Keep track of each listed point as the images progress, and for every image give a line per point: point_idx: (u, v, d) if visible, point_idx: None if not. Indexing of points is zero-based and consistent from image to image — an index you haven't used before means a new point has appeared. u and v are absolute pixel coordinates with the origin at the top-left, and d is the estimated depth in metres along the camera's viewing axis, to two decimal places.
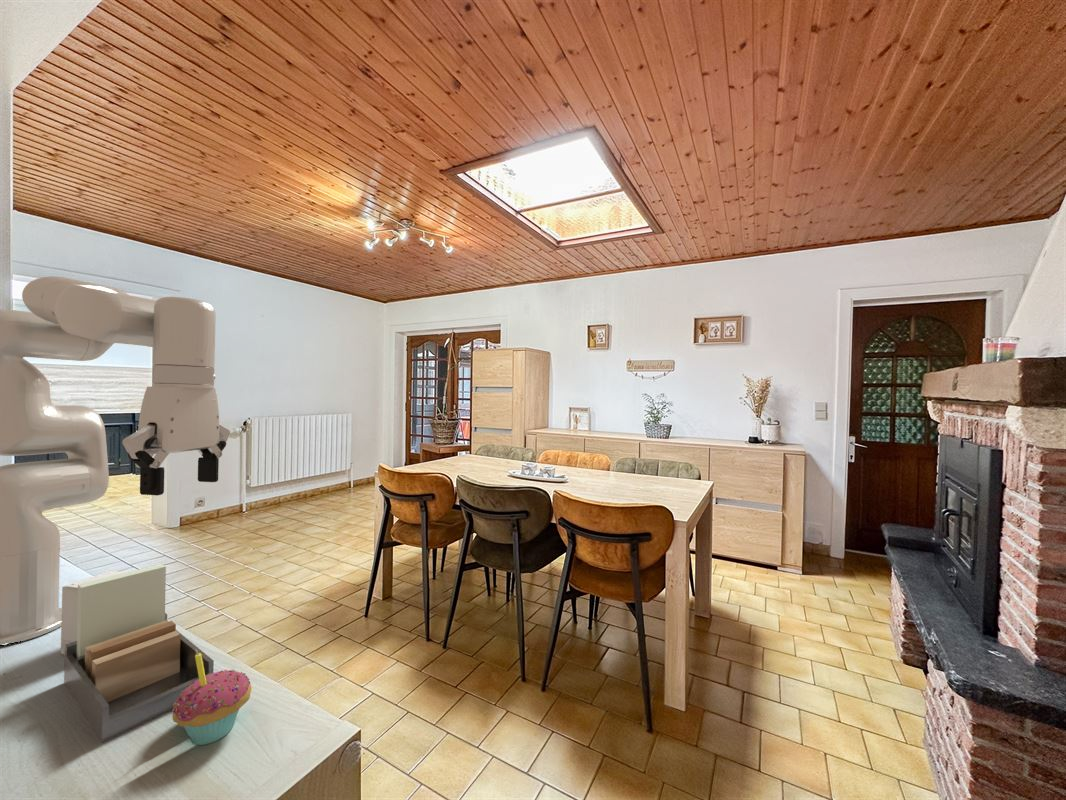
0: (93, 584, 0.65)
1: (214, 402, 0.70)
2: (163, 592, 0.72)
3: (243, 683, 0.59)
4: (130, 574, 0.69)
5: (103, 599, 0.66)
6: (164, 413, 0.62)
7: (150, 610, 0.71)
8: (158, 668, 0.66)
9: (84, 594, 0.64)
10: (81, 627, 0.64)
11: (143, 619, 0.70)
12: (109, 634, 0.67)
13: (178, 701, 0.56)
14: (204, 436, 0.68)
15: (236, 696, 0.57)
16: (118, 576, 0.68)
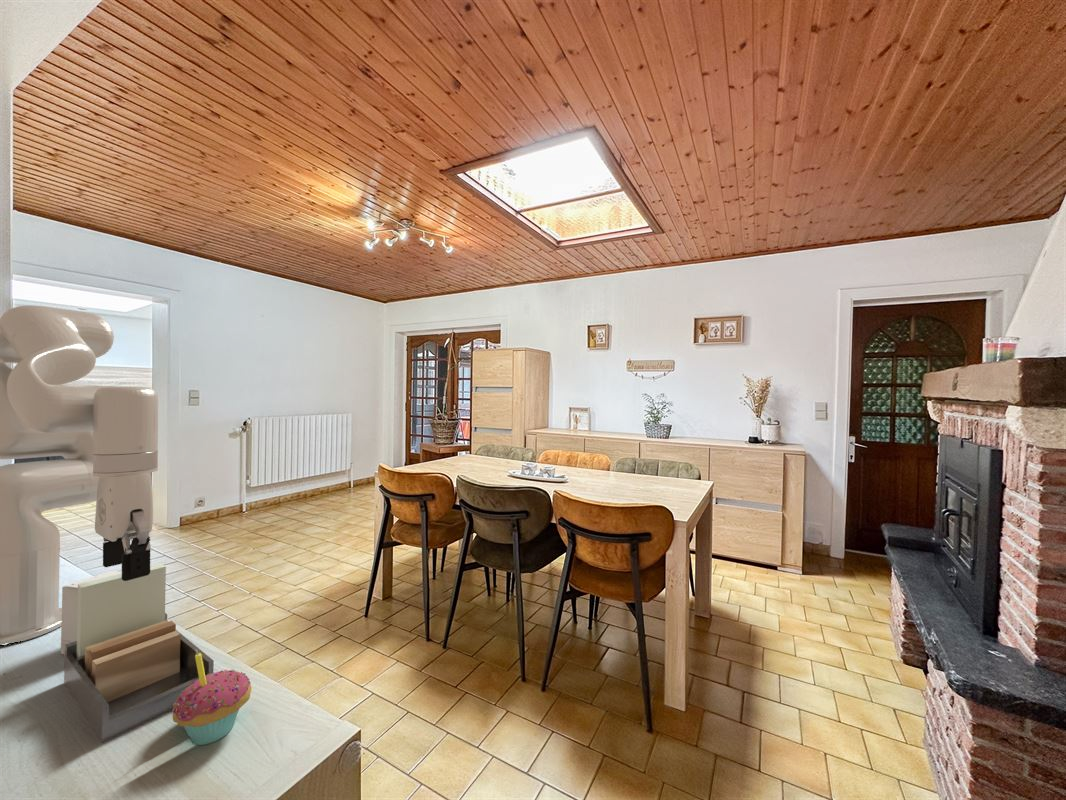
0: (93, 584, 0.65)
1: None
2: (163, 592, 0.72)
3: (243, 683, 0.59)
4: None
5: (103, 599, 0.66)
6: (149, 498, 0.67)
7: (150, 610, 0.71)
8: (158, 668, 0.66)
9: (84, 594, 0.64)
10: (81, 627, 0.64)
11: (143, 619, 0.70)
12: (109, 634, 0.67)
13: (178, 701, 0.56)
14: None
15: (236, 696, 0.57)
16: (118, 576, 0.68)
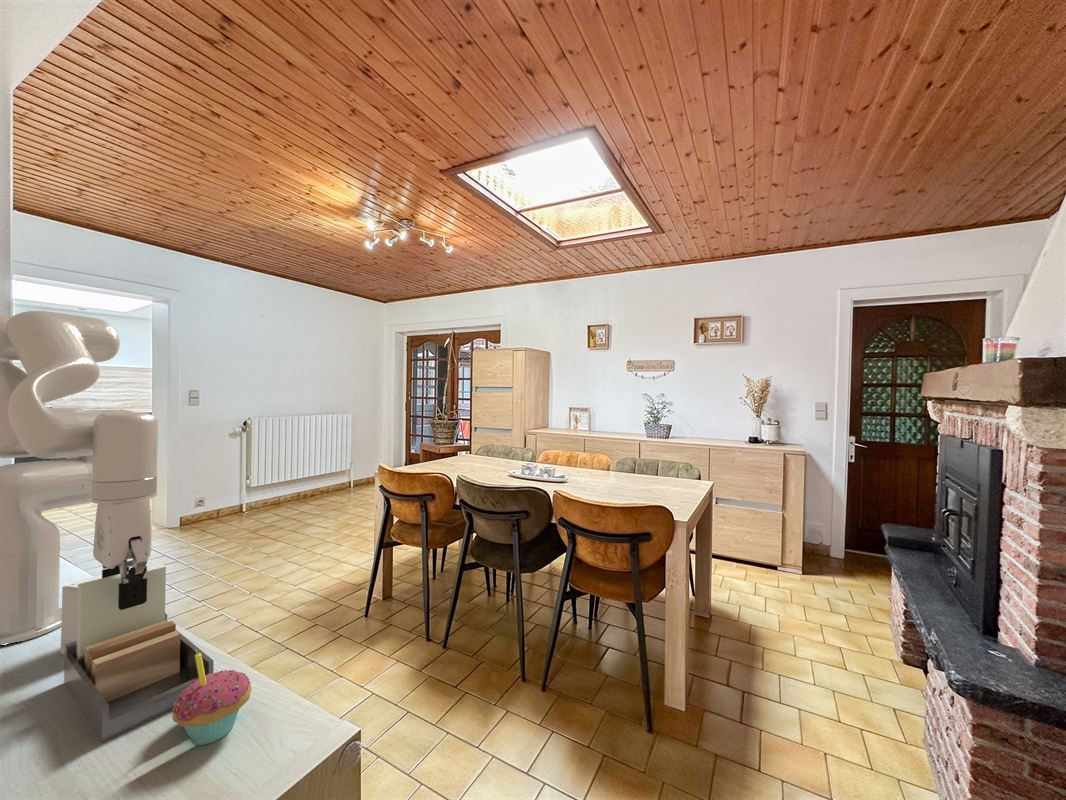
0: (93, 584, 0.65)
1: None
2: (163, 592, 0.72)
3: (243, 683, 0.59)
4: None
5: (103, 599, 0.66)
6: (147, 525, 0.67)
7: (150, 610, 0.71)
8: (158, 668, 0.66)
9: (84, 594, 0.64)
10: (81, 627, 0.64)
11: (143, 619, 0.70)
12: (109, 634, 0.67)
13: (178, 701, 0.56)
14: None
15: (236, 696, 0.57)
16: (118, 576, 0.68)
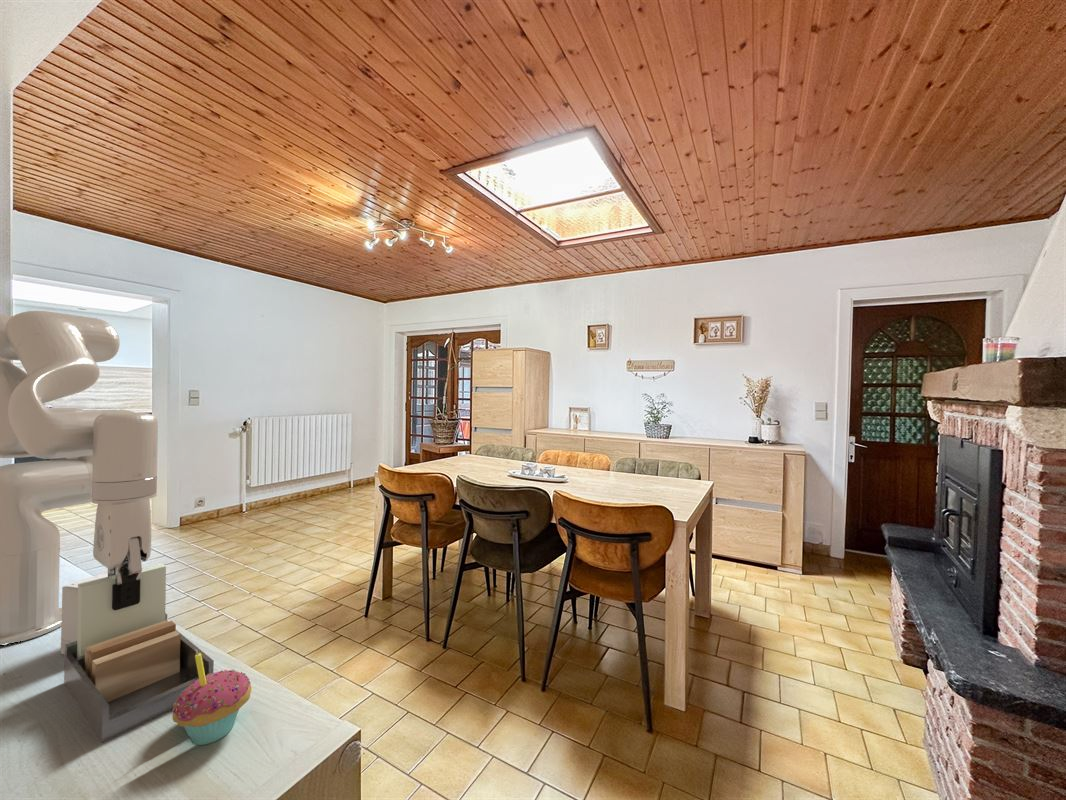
0: (93, 584, 0.65)
1: None
2: (163, 592, 0.72)
3: (243, 683, 0.59)
4: None
5: (103, 599, 0.66)
6: (147, 525, 0.67)
7: (150, 610, 0.71)
8: (158, 668, 0.66)
9: (84, 594, 0.64)
10: (81, 627, 0.64)
11: (143, 619, 0.70)
12: (109, 633, 0.67)
13: (178, 701, 0.56)
14: None
15: (236, 696, 0.57)
16: None
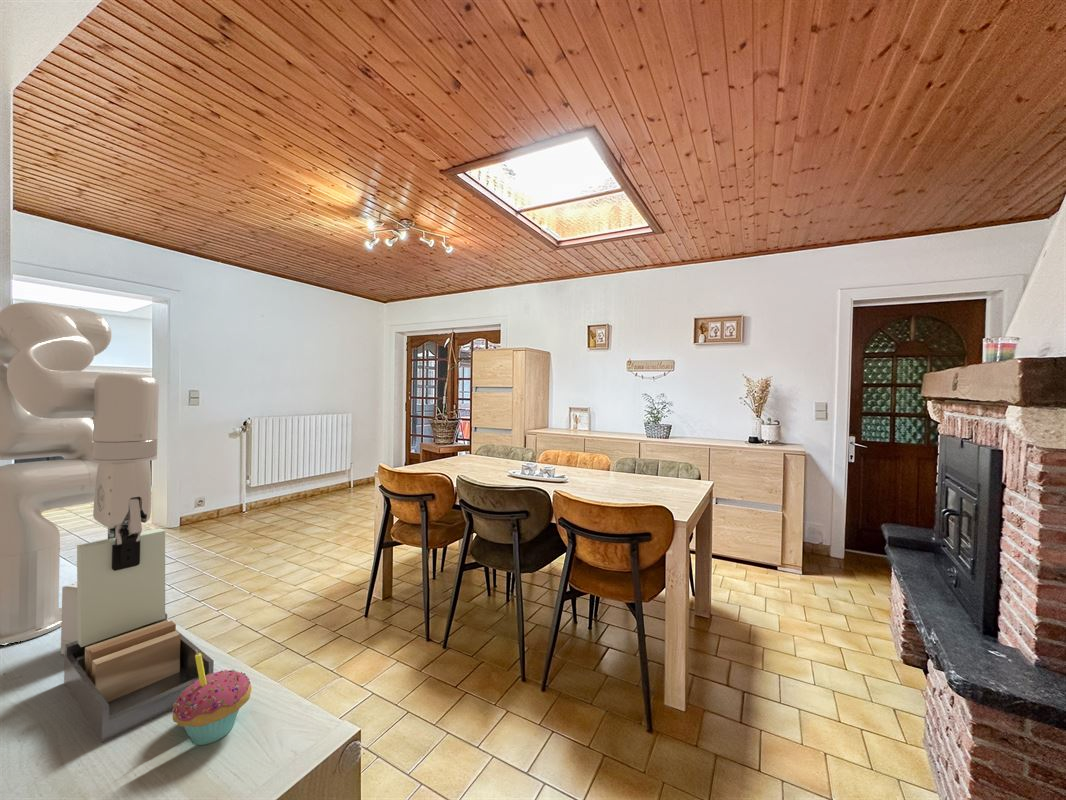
0: (92, 545, 0.65)
1: None
2: (163, 556, 0.72)
3: (243, 683, 0.59)
4: None
5: (103, 560, 0.66)
6: (147, 486, 0.67)
7: (150, 573, 0.71)
8: (158, 668, 0.66)
9: (83, 555, 0.64)
10: (81, 587, 0.64)
11: (143, 582, 0.70)
12: (109, 595, 0.67)
13: (178, 701, 0.56)
14: None
15: (236, 696, 0.57)
16: None
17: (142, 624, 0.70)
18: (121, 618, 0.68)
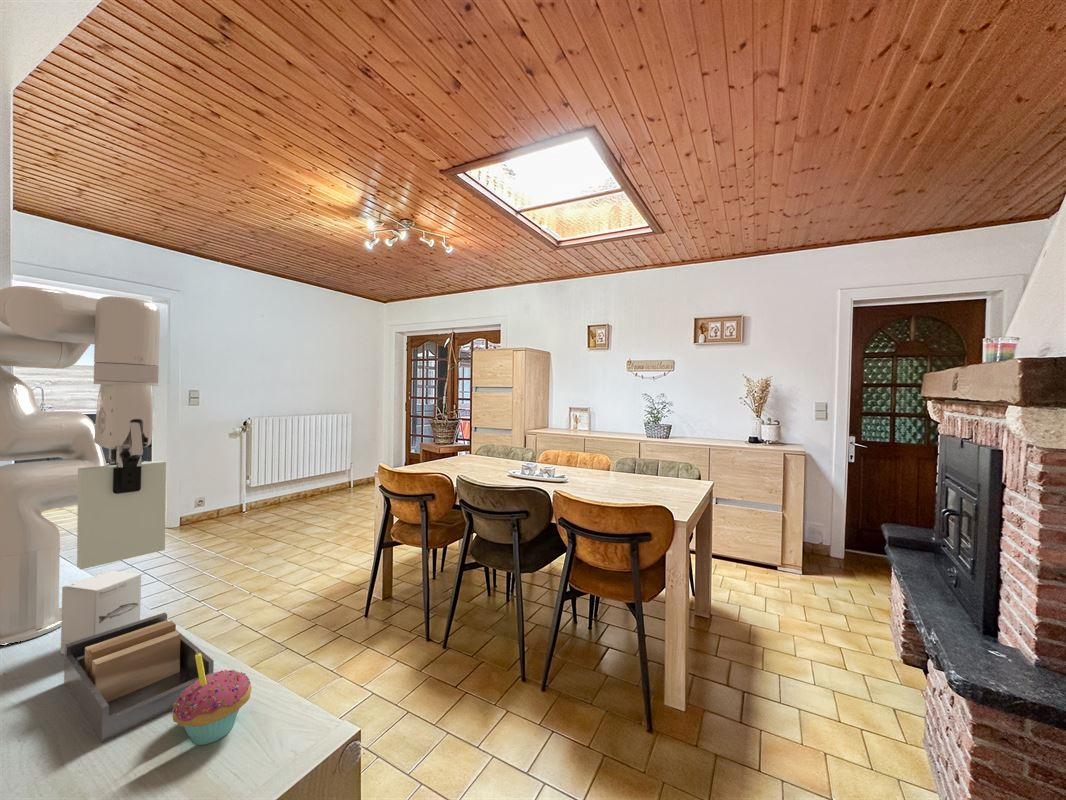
0: (93, 468, 0.65)
1: None
2: (163, 487, 0.72)
3: (243, 683, 0.59)
4: None
5: (103, 485, 0.66)
6: (149, 410, 0.67)
7: (150, 503, 0.71)
8: (158, 668, 0.66)
9: (84, 477, 0.64)
10: (81, 509, 0.64)
11: (143, 511, 0.70)
12: (109, 520, 0.67)
13: (178, 701, 0.56)
14: None
15: (236, 696, 0.57)
16: None
17: (142, 553, 0.70)
18: (121, 545, 0.68)
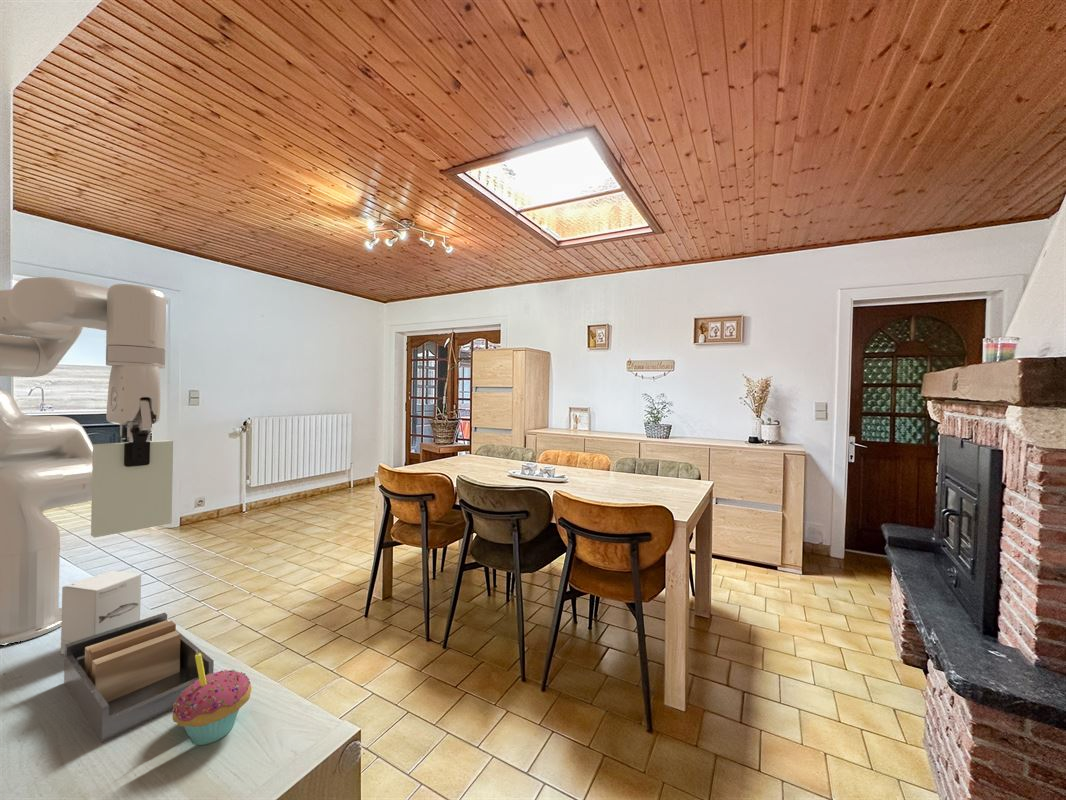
0: (107, 444, 0.71)
1: None
2: (170, 464, 0.78)
3: (243, 683, 0.59)
4: None
5: (116, 460, 0.71)
6: (157, 389, 0.73)
7: (159, 479, 0.76)
8: (158, 668, 0.66)
9: (98, 452, 0.70)
10: (96, 482, 0.70)
11: (152, 486, 0.76)
12: (121, 493, 0.72)
13: (178, 701, 0.56)
14: None
15: (236, 696, 0.57)
16: None
17: (150, 525, 0.75)
18: (132, 517, 0.73)
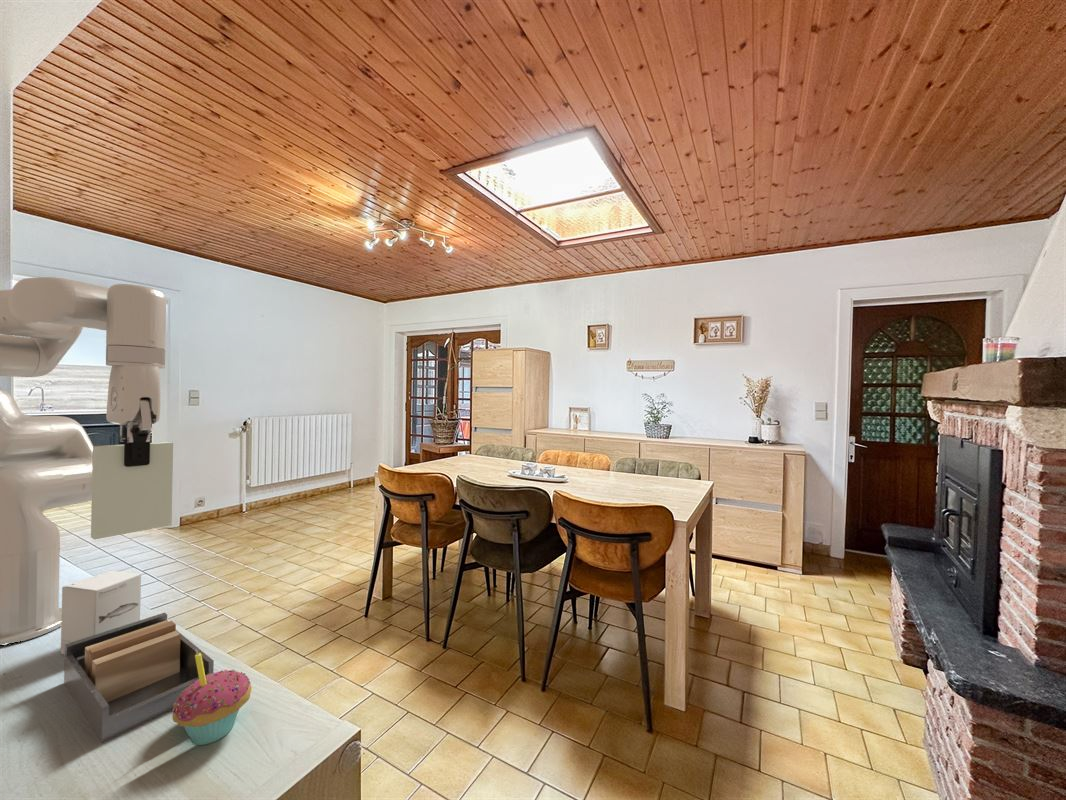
0: (107, 446, 0.71)
1: None
2: (170, 466, 0.78)
3: (243, 683, 0.59)
4: None
5: (116, 462, 0.71)
6: (157, 389, 0.73)
7: (158, 480, 0.76)
8: (158, 668, 0.66)
9: (98, 454, 0.70)
10: (96, 484, 0.70)
11: (152, 488, 0.76)
12: (121, 495, 0.72)
13: (178, 701, 0.56)
14: None
15: (236, 696, 0.57)
16: None
17: (150, 527, 0.75)
18: (131, 519, 0.73)
